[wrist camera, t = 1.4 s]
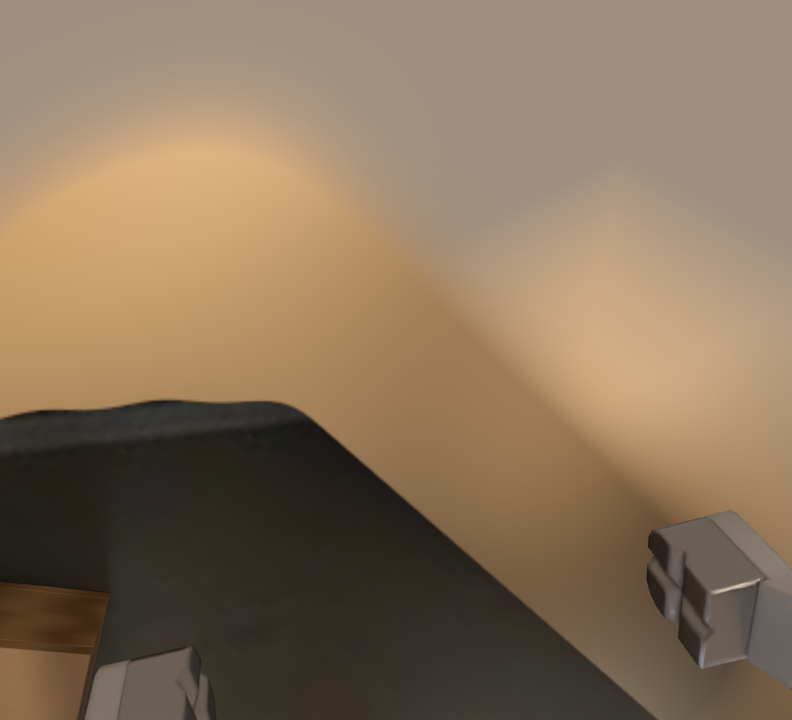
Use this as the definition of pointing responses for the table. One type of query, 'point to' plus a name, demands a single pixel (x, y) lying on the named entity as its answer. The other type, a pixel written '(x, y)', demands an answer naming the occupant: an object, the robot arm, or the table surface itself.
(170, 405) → the table surface
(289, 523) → the table surface
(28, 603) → the cabinet
